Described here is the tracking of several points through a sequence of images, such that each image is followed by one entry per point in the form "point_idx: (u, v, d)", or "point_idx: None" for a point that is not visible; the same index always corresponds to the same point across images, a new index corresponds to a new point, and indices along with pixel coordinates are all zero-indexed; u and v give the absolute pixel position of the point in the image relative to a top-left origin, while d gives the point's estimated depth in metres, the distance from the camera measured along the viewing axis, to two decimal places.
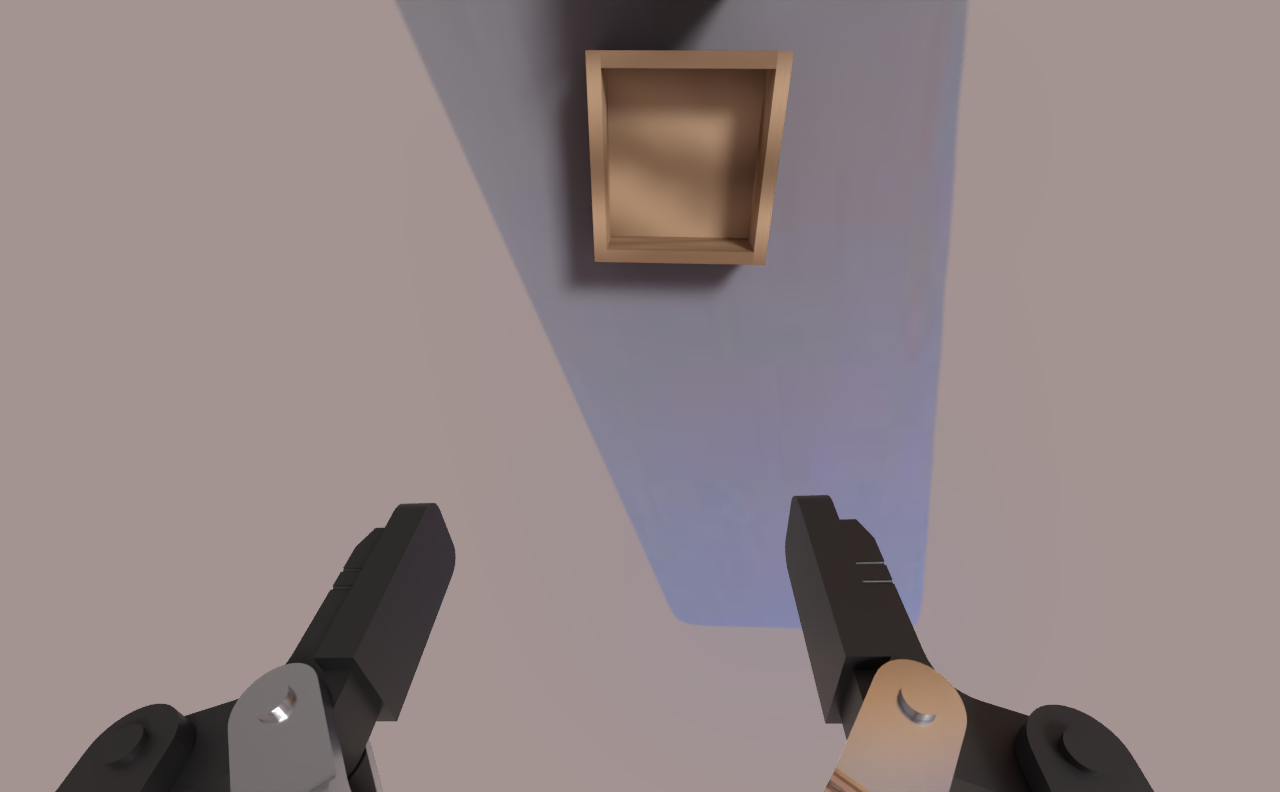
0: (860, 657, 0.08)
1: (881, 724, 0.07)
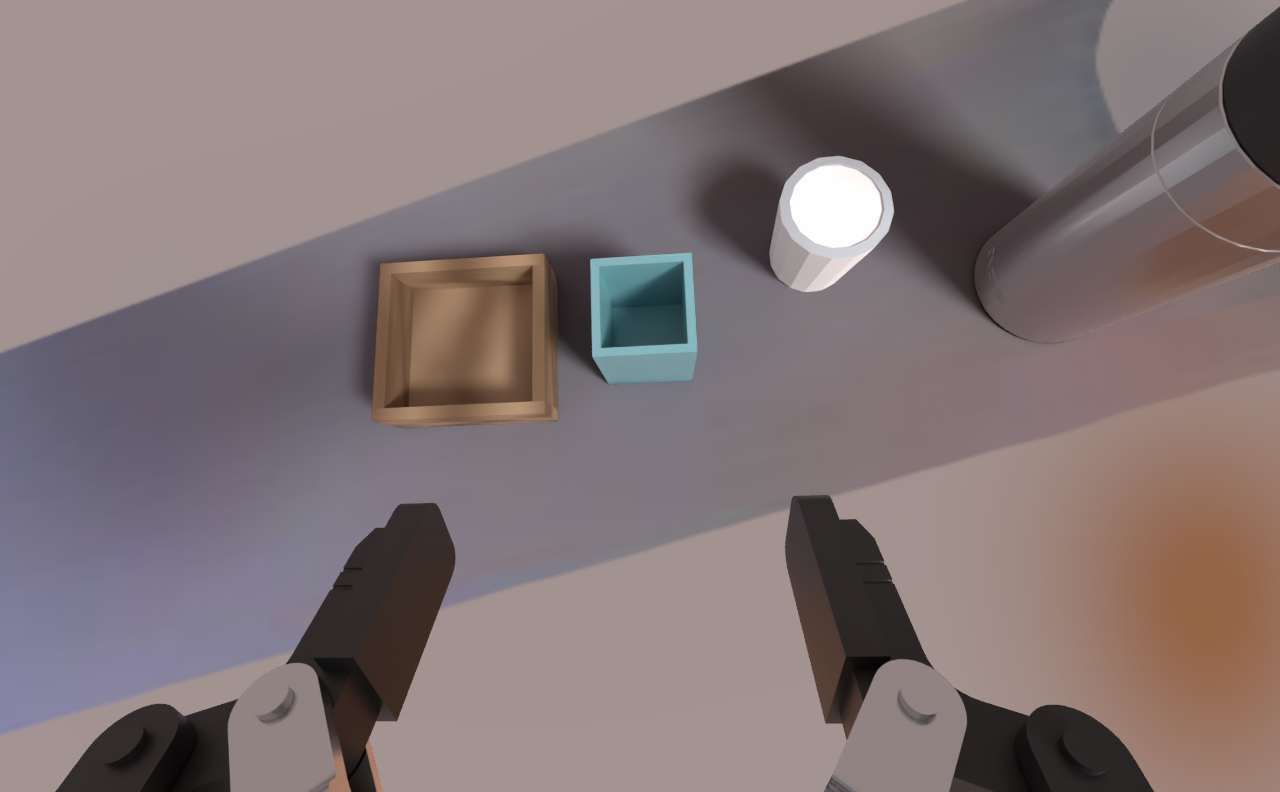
0: (860, 657, 0.08)
1: (881, 724, 0.07)
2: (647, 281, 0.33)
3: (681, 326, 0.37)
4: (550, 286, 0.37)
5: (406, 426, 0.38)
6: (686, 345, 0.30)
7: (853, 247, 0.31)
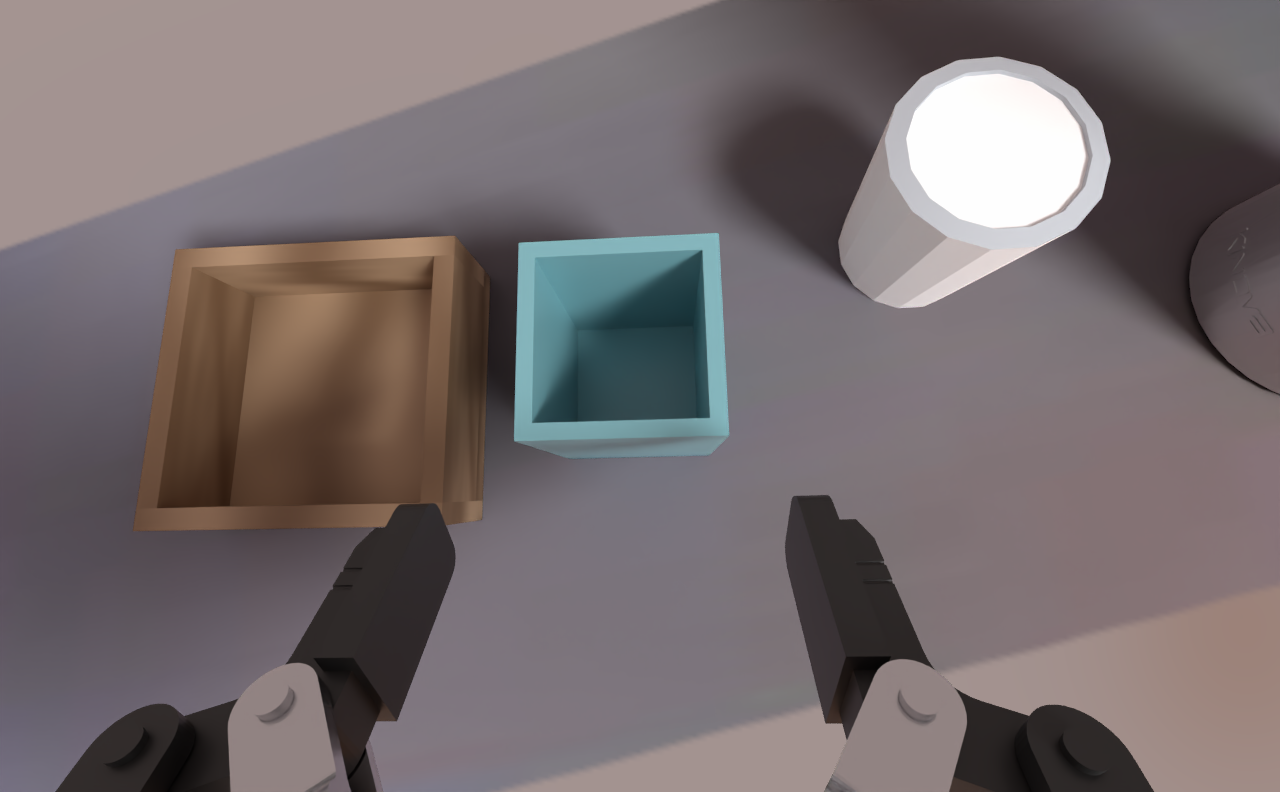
0: (860, 657, 0.08)
1: (881, 724, 0.07)
2: (633, 287, 0.18)
3: (692, 363, 0.22)
4: (471, 293, 0.22)
5: None
6: (706, 421, 0.14)
7: (1033, 227, 0.16)
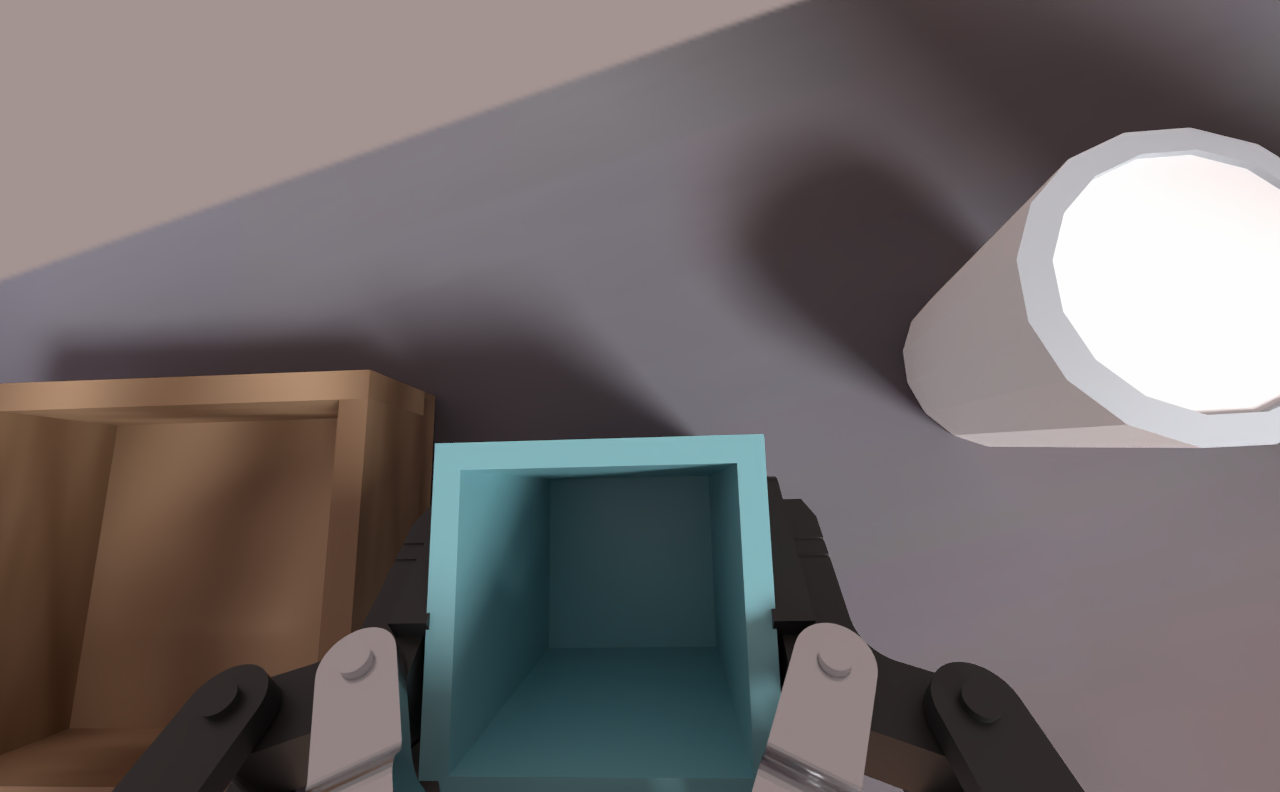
0: (787, 621, 0.09)
1: (798, 680, 0.08)
2: None
3: (708, 530, 0.16)
4: (400, 436, 0.16)
5: None
6: (749, 784, 0.08)
7: (1269, 412, 0.10)
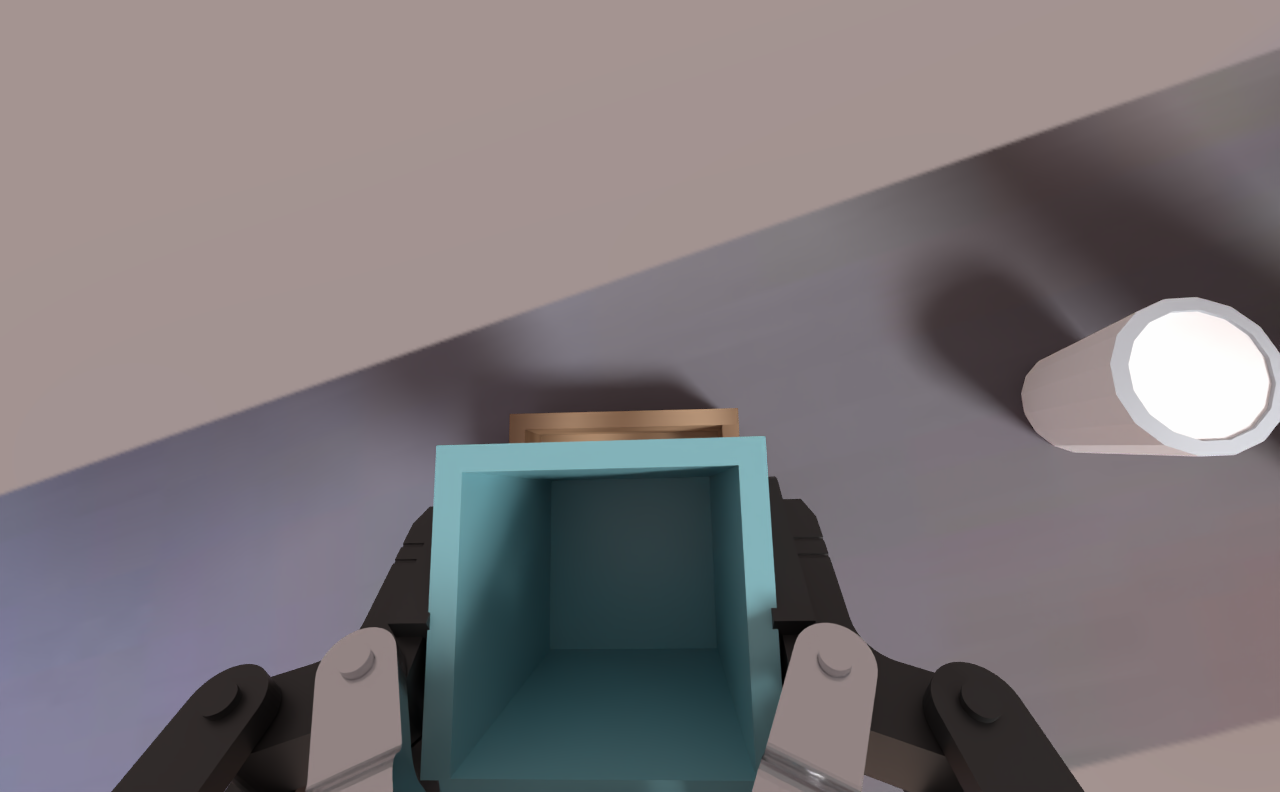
0: (787, 621, 0.09)
1: (798, 680, 0.08)
2: (625, 473, 0.12)
3: (709, 532, 0.16)
4: None
5: None
6: (751, 786, 0.08)
7: (1231, 440, 0.21)
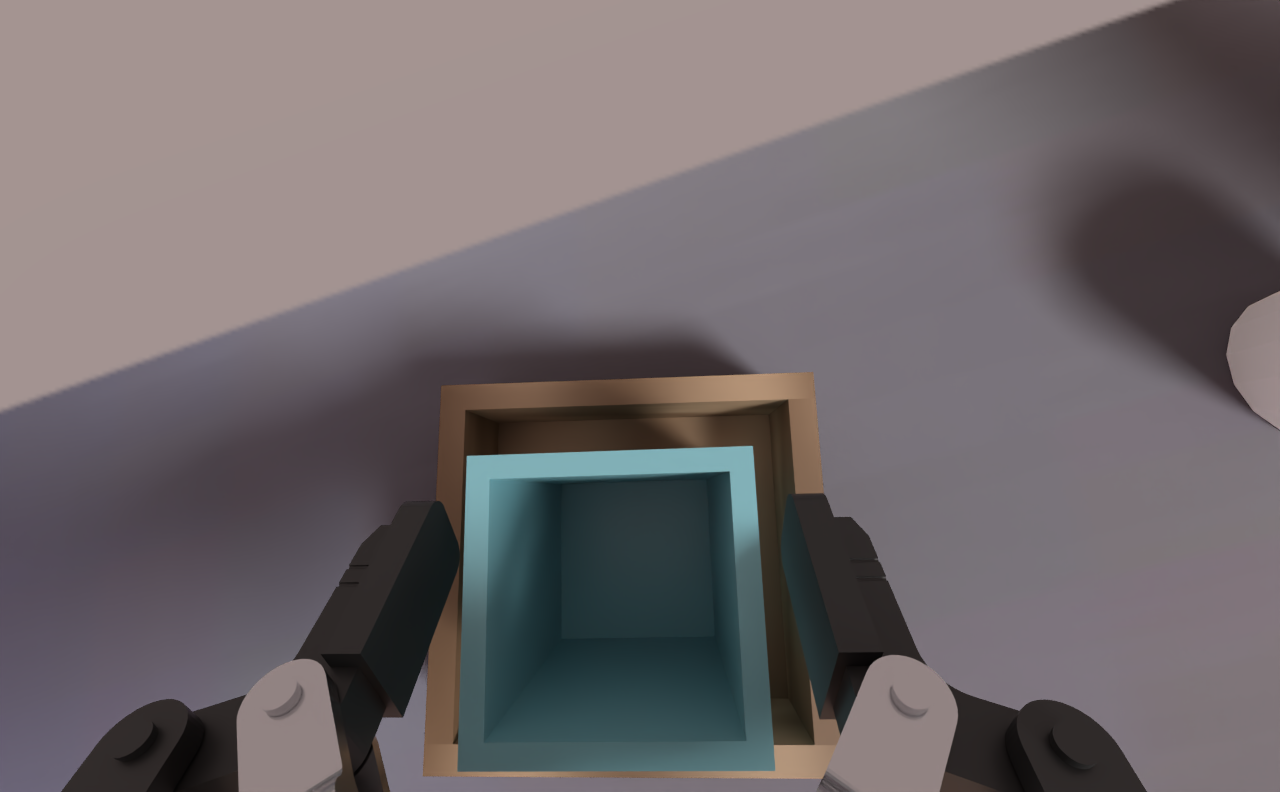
0: (853, 653, 0.08)
1: (873, 719, 0.07)
2: None
3: (706, 530, 0.17)
4: None
5: None
6: (741, 746, 0.10)
7: None
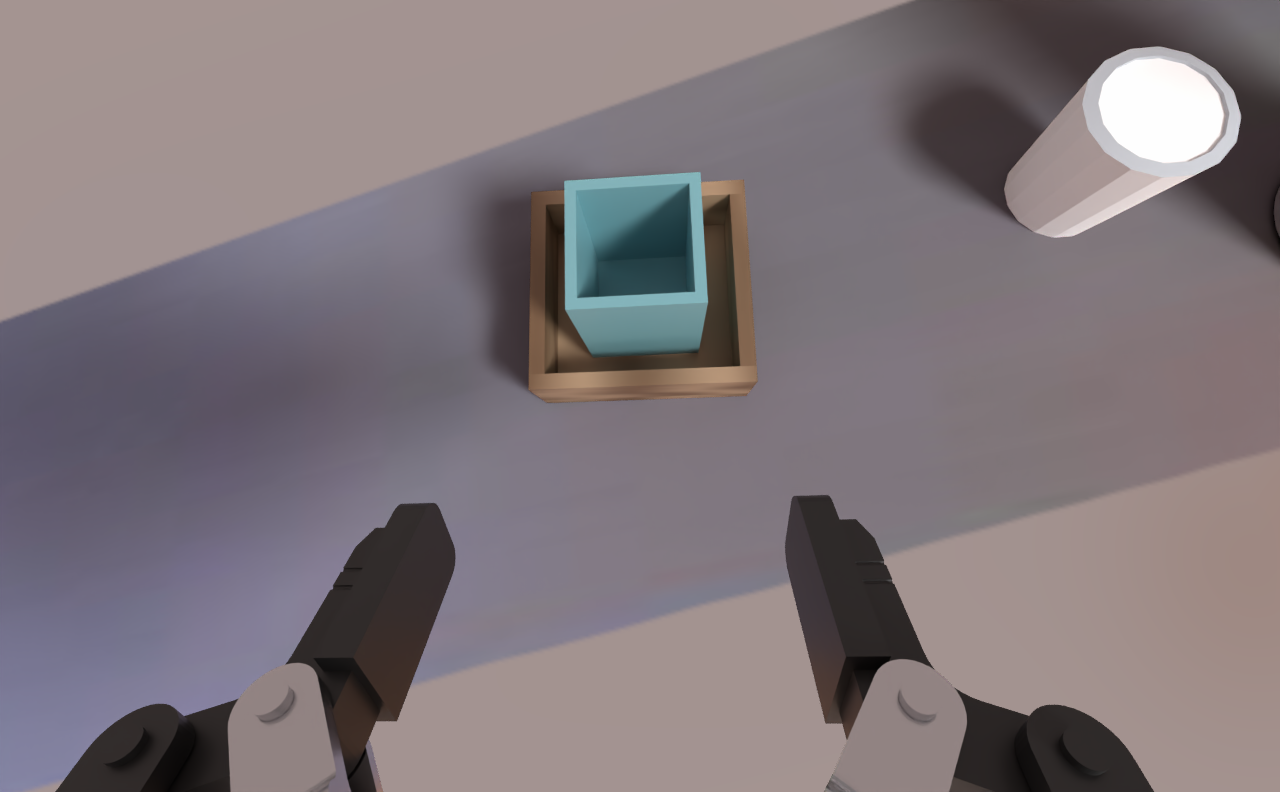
0: (860, 657, 0.08)
1: (881, 724, 0.07)
2: (641, 218, 0.25)
3: (685, 284, 0.29)
4: None
5: (555, 400, 0.30)
6: (693, 294, 0.22)
7: (1191, 162, 0.24)
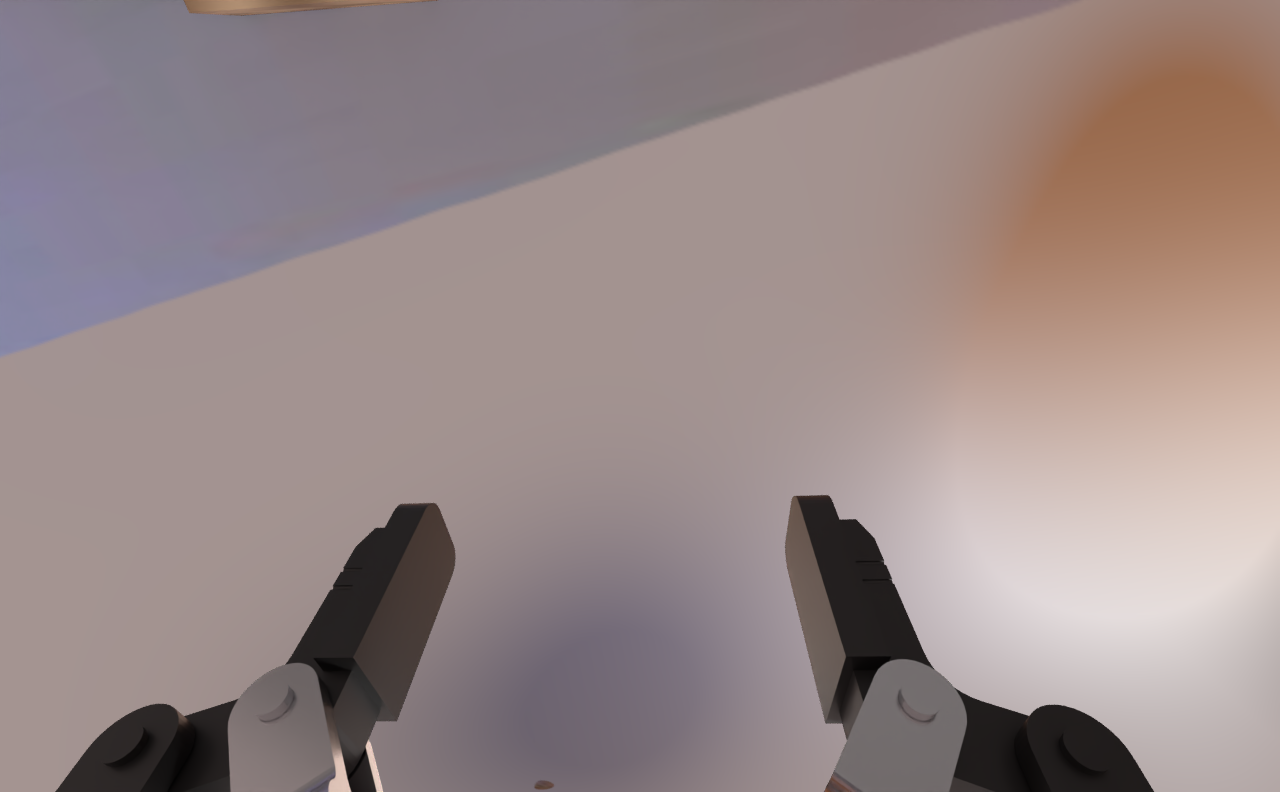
0: (860, 657, 0.08)
1: (881, 724, 0.07)
2: None
3: None
4: None
5: (244, 14, 0.29)
6: None
7: None
